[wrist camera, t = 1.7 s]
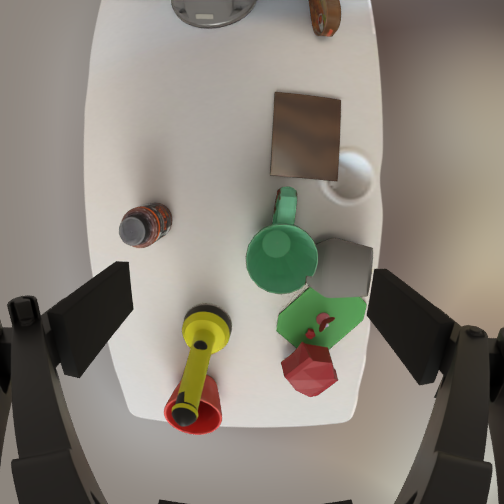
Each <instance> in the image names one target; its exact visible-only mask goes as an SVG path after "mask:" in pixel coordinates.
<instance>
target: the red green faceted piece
mask: <svg viewBox="0 0 504 504" xmlns="http://www.w3.org/2000/svg"><path fill="white" fill-rule="evenodd" d="M366 306H367V304H366V303H365V302H364V301H363V300H362V299H361V298H360V297H346V298H327V297H324V296H322V295H321V294H320V293H318V292H317V291H315V290H314V289H312V288H311V287H309V288H308V289H307V290H306V291H305V292H304V293H303V294H302V295H300V296H299V297H298V298H297V299H296V300H295V301H294V302H293V303H292V304H290V305H289V306H288V307H287V308H286V309H285V310H284V311H283V312H281V313H280V314H279V316H278V323H277V330H276V331H277V332H278V333H279V334H281V335H282V336H283V337H284V338H285V339H286V340H288V341H289V342H290V343H291V344H292V345H293V346H295V347H296V348H297V349H296V350H295V351H294V352H293V353H292V354H291V355H290V356H288V357H287V358H286V359H285V360H283V361H282V362H281V365H282V369H283V373H284V377H285V378H286V379H287V380H288V381H289V382H290V384H291V385H292V386H293V387H294V389H295V390H296V391H298V392H300V393H302V394H305V395H307V396H309V397H313V396H318V395H319V394H320V393H322V392H323V391H324V390H326V389H327V388H329V387H330V386H331V385H333V384H334V383H335V382H337V381H338V378H337V374H336V370H335V369H334V367H333V364H332V360H331V357H330V353H329V349H330V348H331V347H332V346H333V345H335V344H336V343H337V342H338V341H339V340H341V339H342V338H343V337H344V336H345V335H346V334H348V333H349V332H350V331H351V330H352V329H353V328H355V327H356V326H357V325H358V324H359V323H360V322H361V321H362V320H363V318H364V314H365V310H366Z"/></svg>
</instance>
